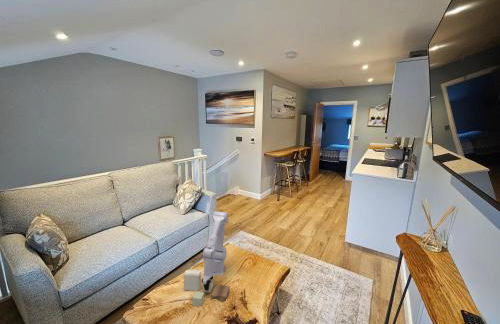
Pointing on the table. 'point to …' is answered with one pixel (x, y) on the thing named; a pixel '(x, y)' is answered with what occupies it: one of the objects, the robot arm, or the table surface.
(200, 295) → the sage cube
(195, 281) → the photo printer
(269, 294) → the table surface
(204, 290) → the cream cube
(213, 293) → the walnut base
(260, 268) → the table surface
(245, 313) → the table surface
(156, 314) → the table surface
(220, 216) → the robot arm
